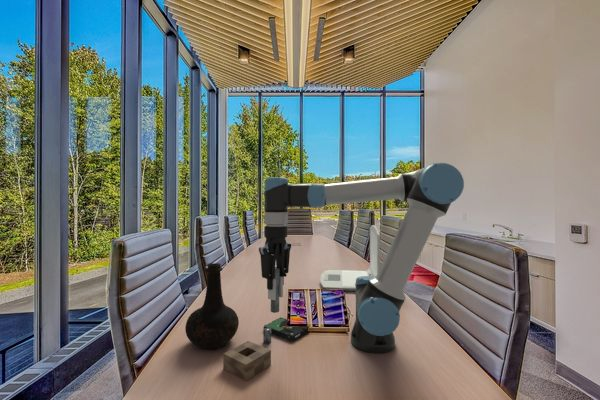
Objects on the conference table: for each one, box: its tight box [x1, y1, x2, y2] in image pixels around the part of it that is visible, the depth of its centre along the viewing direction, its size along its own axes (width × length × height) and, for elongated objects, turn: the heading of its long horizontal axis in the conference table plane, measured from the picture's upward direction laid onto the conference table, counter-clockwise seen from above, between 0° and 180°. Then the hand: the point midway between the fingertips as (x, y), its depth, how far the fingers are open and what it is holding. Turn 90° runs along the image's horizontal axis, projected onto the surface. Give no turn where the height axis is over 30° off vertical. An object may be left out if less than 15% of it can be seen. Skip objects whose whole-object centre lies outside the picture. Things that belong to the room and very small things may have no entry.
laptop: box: [319, 224, 381, 292], centre depth 181 cm, size 42×33×35 cm
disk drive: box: [262, 317, 310, 343], centre depth 113 cm, size 10×3×15 cm
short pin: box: [262, 328, 272, 345], centre depth 105 cm, size 3×3×4 cm
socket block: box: [222, 340, 272, 382], centre depth 89 cm, size 10×10×4 cm
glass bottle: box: [184, 262, 240, 350], centre depth 104 cm, size 18×18×28 cm
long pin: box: [270, 266, 280, 314], centre depth 96 cm, size 3×3×14 cm
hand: (275, 297), depth 96 cm, fingers closed on long pin, 3 cm apart
